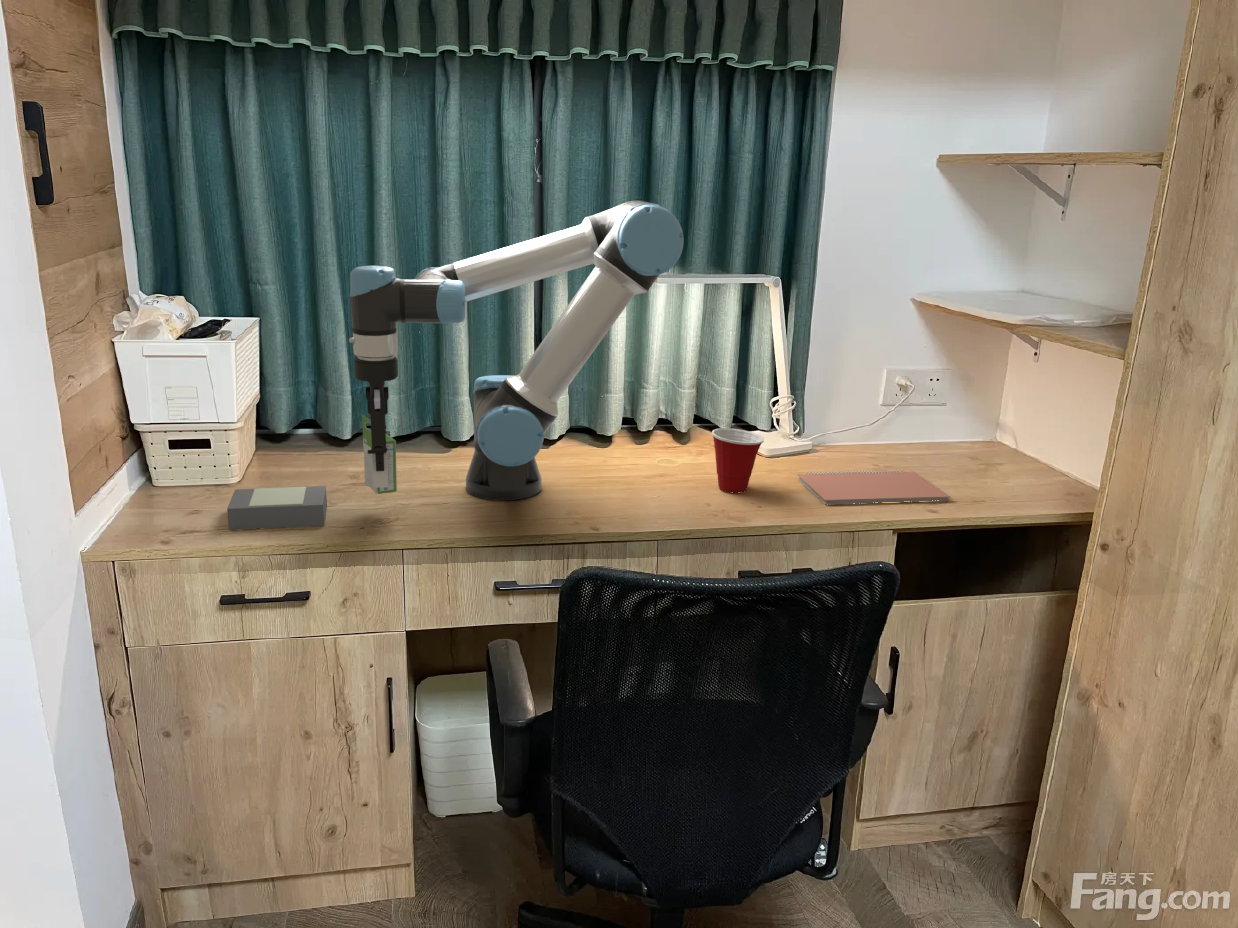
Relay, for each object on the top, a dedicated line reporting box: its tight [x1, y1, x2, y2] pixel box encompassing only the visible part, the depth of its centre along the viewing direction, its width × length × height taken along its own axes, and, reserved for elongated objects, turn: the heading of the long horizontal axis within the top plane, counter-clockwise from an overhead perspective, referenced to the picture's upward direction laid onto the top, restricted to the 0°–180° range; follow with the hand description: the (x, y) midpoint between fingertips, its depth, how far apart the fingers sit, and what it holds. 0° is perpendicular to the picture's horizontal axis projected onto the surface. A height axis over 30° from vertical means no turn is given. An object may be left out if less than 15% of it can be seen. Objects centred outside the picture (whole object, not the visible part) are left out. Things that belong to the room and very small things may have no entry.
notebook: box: [797, 469, 951, 506], centre depth 204 cm, size 27×17×2 cm, turn 101°
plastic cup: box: [711, 427, 765, 494], centre depth 200 cm, size 11×11×12 cm
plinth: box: [226, 485, 328, 531], centre depth 176 cm, size 16×10×4 cm, turn 103°
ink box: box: [361, 414, 398, 495], centre depth 176 cm, size 7×4×13 cm, turn 33°
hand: (380, 478), depth 177 cm, fingers closed on ink box, 8 cm apart
